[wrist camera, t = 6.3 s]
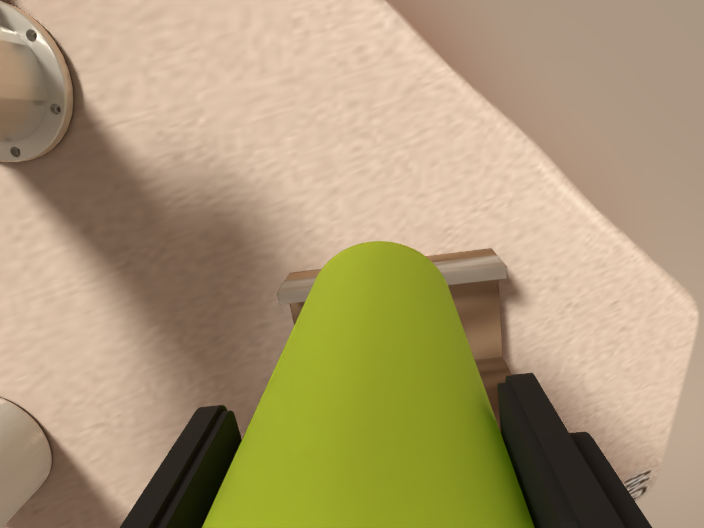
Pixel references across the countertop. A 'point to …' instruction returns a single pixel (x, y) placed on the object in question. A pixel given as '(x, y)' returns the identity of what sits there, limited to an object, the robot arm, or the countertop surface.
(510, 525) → the soap dispenser
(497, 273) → the board
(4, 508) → the utensil holder
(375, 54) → the countertop surface
